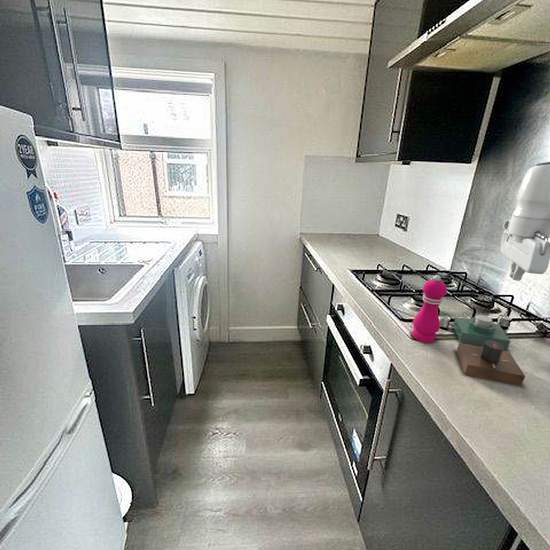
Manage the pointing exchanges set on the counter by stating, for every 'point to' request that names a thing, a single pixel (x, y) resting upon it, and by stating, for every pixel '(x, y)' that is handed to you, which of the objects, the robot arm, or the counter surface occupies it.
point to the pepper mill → (429, 311)
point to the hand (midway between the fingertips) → (514, 278)
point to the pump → (483, 321)
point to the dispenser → (479, 332)
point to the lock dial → (492, 351)
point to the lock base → (489, 365)
